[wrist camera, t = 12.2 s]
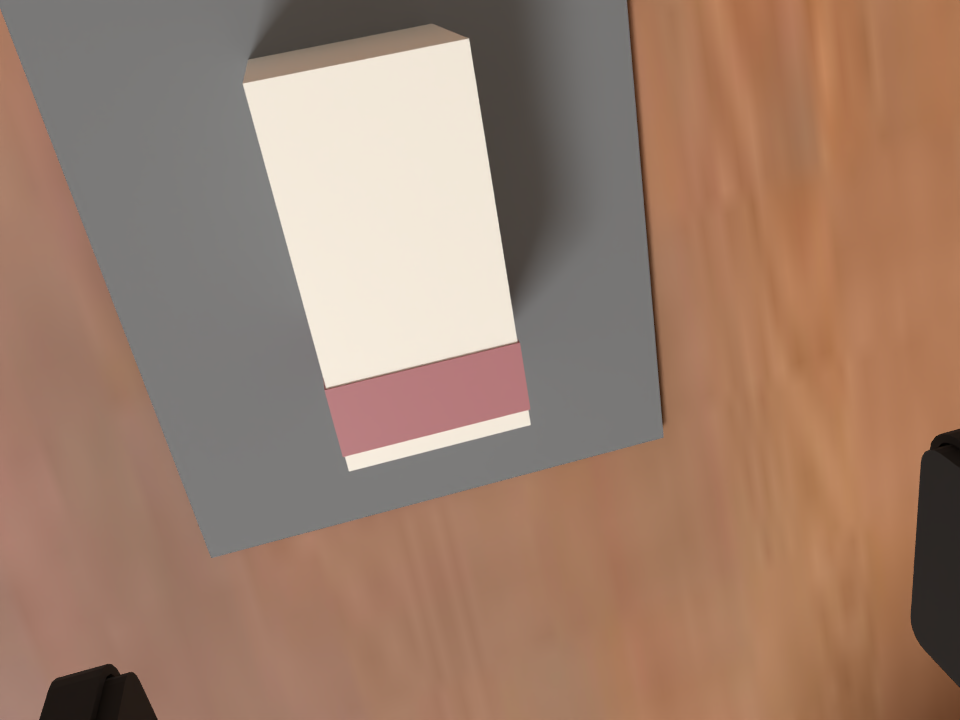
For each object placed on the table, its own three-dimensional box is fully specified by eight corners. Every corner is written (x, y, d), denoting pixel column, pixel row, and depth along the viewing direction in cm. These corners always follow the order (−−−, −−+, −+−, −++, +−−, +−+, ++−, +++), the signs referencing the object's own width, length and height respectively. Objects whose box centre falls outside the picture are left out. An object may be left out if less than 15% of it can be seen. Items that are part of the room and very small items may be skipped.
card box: (246, 59, 23) (240, 84, 19) (433, 23, 24) (471, 38, 19) (334, 388, 28) (347, 473, 23) (491, 350, 28) (533, 425, 24)
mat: (658, 431, 32) (663, 437, 31) (211, 550, 30) (211, 557, 29) (602, -225, 23) (607, -228, 22) (-43, -116, 21) (-49, -117, 20)
